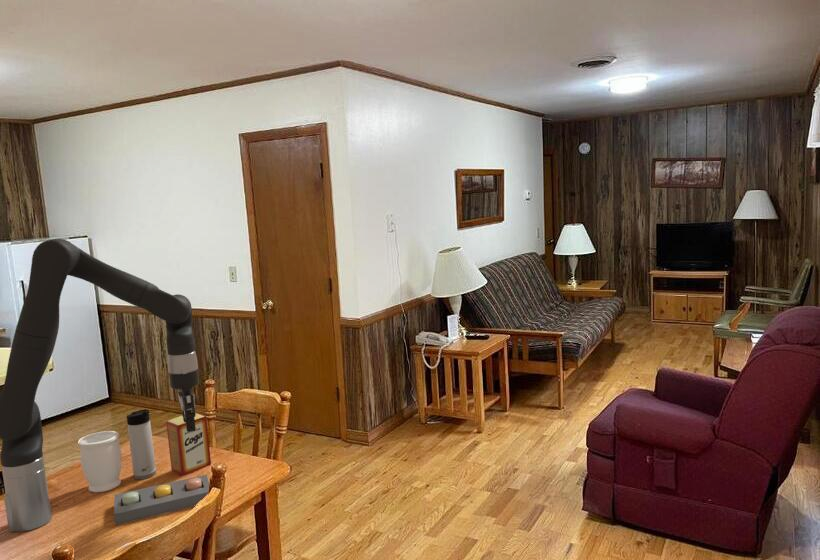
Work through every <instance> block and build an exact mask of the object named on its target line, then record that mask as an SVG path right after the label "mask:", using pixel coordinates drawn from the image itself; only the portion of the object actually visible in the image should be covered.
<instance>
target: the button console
mask: <svg viewBox="0 0 820 560" xmlns="http://www.w3.org/2000/svg"><path fill="white" fill-rule="evenodd" d="M193 478H200V479H201V483H202V488H199V489H195V490H191V491H187V489H186V481H188V480H189V479H193ZM209 484H210V481H209V478H208V474H207V473H206V474H203V475H199V476H198V475H197V476H194V477H189V478H184V479H179V480H176V481H170V482H167V483H161V484H157V485H153V486H149V487H143V488H140V489H136V490H131V491H126V492H122V493H117V494H114V498H113V499H114V502H113V505H114V506H113V518H114V525H115V526H118V525H122V524H126V523H129V522H133V521H138V520H143V519H147V518H150V517H154V516H159V515H160V516H161V515H163V514H164V515H165V514H168V513H173V512H176V511H179V510H184V509H188V508H193V507H195V506H194V505H196V504H197V503H198V502H199V501H200V500H202V499H203V498H204V497H205V496H206V495H207V494H208V491H209ZM161 485H170V488H171V495H169V496H164V497H160V498H155V488H156V487H158V486H161ZM130 492H138V495H139V502H138V503H134V504H130V505H125V506H123V502H122V496H123V495H124V494H126V493H130Z"/></svg>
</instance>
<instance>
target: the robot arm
mask: <svg viewBox="0 0 820 560" xmlns="http://www.w3.org/2000/svg"><path fill="white" fill-rule="evenodd" d="M30 266H31V267H30V274H29V280H28V281H29V282H28V287H27V292H26V296H25V299H24V301H23V304H22V308H21V311H20V313H19V317H18V320H17V322H16V323H17V324H16V327H15V331H14V335H13V339H12V343H11V347H10V354H9V356H8V363H7V367H6V373H5V374H6V375H5V379H4V383H3V387H2V390H1V392H0V439H1V440H2V441H1V442H2V443H1V449H0V465H1V471H2V478H3V485H4V491H5V494H4V497H3V501H4V506H5V507H4V509H5V513H6V519H7V528H8V532H9V533H13V532H18V533H19V532H27V531H32V530H35V529H37V528H38V529H39V528H41V527H42V526H45V525H46V524H48V522H50V521H51V520H52V518H53V517H52V509H51V501H50V493H49V488H48V487H49V486H48V482H47V481H48V480H47V474H46V468H45V467H46V466H45V459H44V454H43V453H44V451H43V447H44V446H43V444H44V436H43V435H44V434H43V426H42V416H41V411H40V408H39V405H38V404H37V402H36V401H35V400H36V394H37V390H38V387H39V384H40V382H41V380H42V377H43V376H44V374H45V372H46V370H47V367H48V365H49V363H50V361H51V358H52V357H53V356H52V355H53V353H54V349H55V347H56V342H57V338H58V333H59V329H60V328H59V327H60V299H61V296H62V292H63V289H64V285H65V283H66V280H67V278H68V276H69V277H73V278H77V279H79V280H80V279H81V280H83V281H86V282H88V283H90V284H92V285H95V286H97V287H98V288H100V289H101V290H104V291H105V292H107V293H109V294H110V295H111V296H113V297H115V298H117V299H119V300H122V301H124V302H125V303H128V304H130V305H132V306H134V307H138V308H140V309H143V310H145V311H147V312H149V313H151V314H152V315H154V316H155V317H157V318H159V319H160V320H163V321H164V322H166V329H167V333H166V348H167V367H168V376H169V385H170V388H171V389H173V390H174V389H175V390H178V391H179V392H177V397H178V401H179V403H178V404H179V405H180V409H181V412H182V416H183V421H184V422H186V428H187V431H188V432H191V431H195V429H196V428H195V419H194V417H195V415H196V413H197V412H196V402H195V396H196V395H195V392H194V389H192V388H193V387H197V385H199V383H200V373H199V364H198V357H197V353H196V344H195V337H194V332H193V310H192V309H193V308H192V307H193V306H192V303H191V301H190V299H189V298H188V297H187V296H185V295H183V294H179V293H178V294H171V293H169V292H167V291H165V290H162V289H160V288H159V287H158V286H157V285H155V284H154V283H151V282H149V281H147V280H146V279H143V278H140V277H138V276H136V275H134V274H131V273H128V272H126V271H123V270H122V269H119V268H117V267H114V266H112V265H109V264H107V263H105V262H103V261H101V260H100V259H98V258H95V257H94V256H92V255H91V254H89V253H87V252H86V251H84V250H83V249H81V248H79V247H78V246H77V245H75V244H73V243H72V241H69V240H67V239H64V238H52V239H47V240H44V241H42V242H40V243H39V244H38V245H37V246H36V248H35V249H34V250H33V254H32V257H31V265H30ZM195 412H196V413H195Z"/></svg>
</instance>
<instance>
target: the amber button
mask: <svg viewBox="0 0 820 560" xmlns="http://www.w3.org/2000/svg"><path fill="white" fill-rule="evenodd" d="M160 485H161V484H160ZM169 495H171V488H170V485H161V486H158V487H156V488H155V498H160V497H164V496H169Z"/></svg>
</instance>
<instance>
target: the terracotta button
mask: <svg viewBox="0 0 820 560" xmlns="http://www.w3.org/2000/svg"><path fill="white" fill-rule="evenodd" d="M192 478H193V477H192ZM199 488H202V483H201V479H200V478H193V479H189V480H188V481H186V489H187V491H191V490H195V489H199Z"/></svg>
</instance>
